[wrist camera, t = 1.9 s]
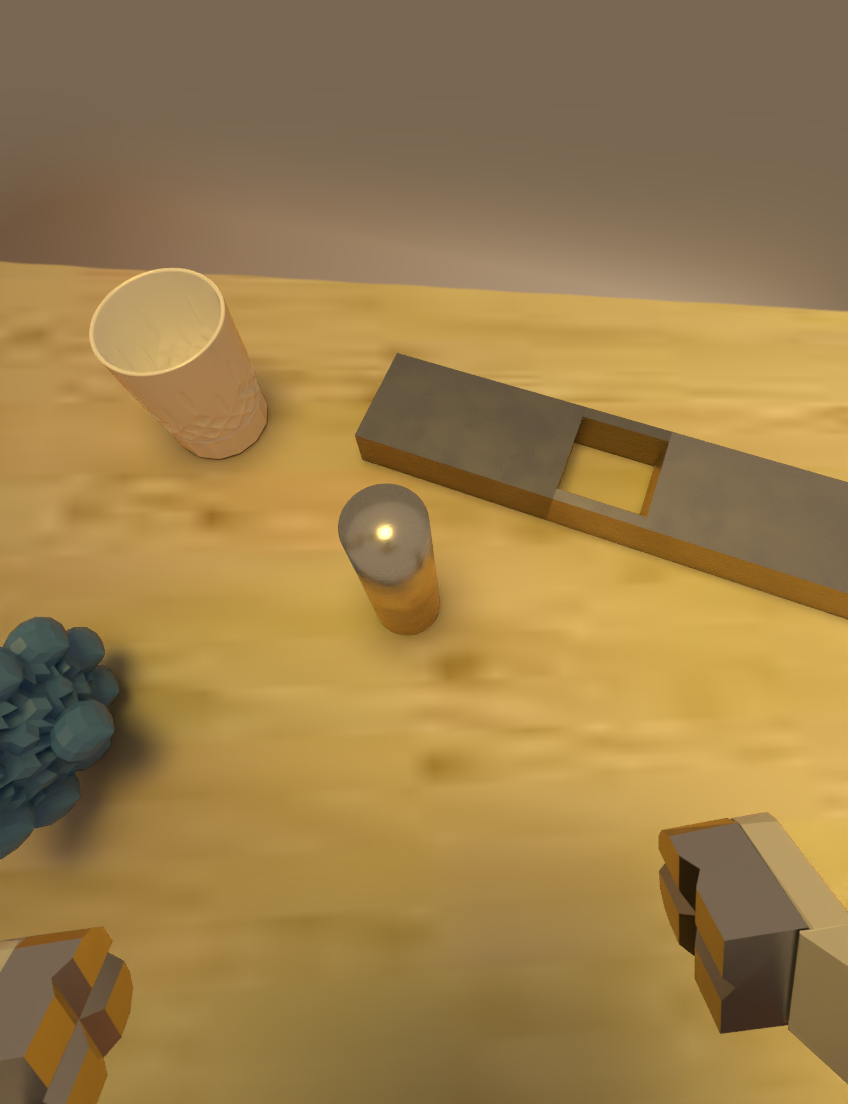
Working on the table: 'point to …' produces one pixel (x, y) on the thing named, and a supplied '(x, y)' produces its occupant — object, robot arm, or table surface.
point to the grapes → (49, 722)
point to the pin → (392, 555)
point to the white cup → (181, 359)
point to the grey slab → (680, 461)
